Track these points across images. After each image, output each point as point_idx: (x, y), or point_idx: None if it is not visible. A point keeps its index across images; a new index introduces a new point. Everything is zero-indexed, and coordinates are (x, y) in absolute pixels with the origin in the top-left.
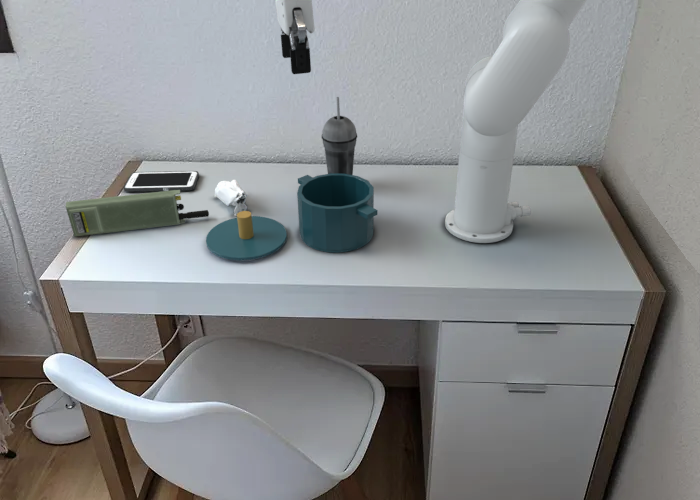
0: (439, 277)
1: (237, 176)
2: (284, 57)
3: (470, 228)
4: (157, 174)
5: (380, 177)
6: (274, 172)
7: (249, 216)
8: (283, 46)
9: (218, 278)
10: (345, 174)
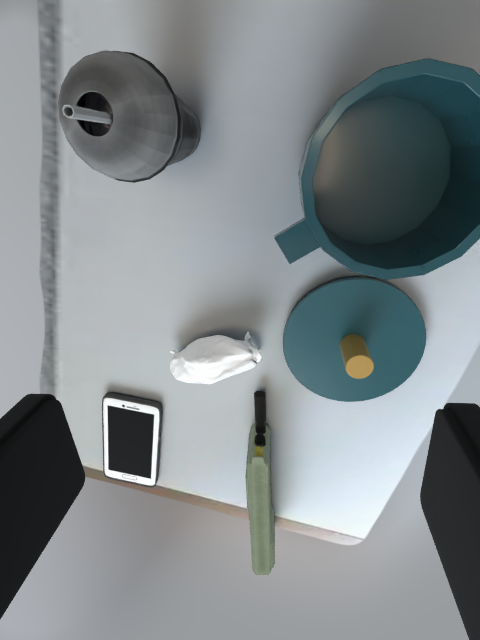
0: None
1: (112, 334)
2: (80, 475)
3: None
4: (112, 449)
5: (133, 6)
6: (97, 267)
7: (370, 359)
8: (42, 545)
9: (445, 387)
10: (318, 136)
